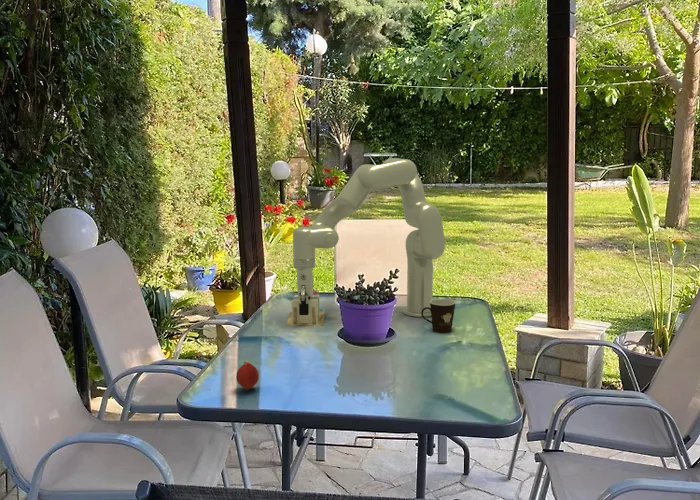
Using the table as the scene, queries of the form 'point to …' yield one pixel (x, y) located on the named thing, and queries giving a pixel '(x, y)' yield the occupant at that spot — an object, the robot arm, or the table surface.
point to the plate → (311, 298)
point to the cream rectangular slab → (309, 317)
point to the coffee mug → (441, 315)
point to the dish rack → (320, 322)
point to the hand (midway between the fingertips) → (305, 311)
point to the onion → (247, 375)
